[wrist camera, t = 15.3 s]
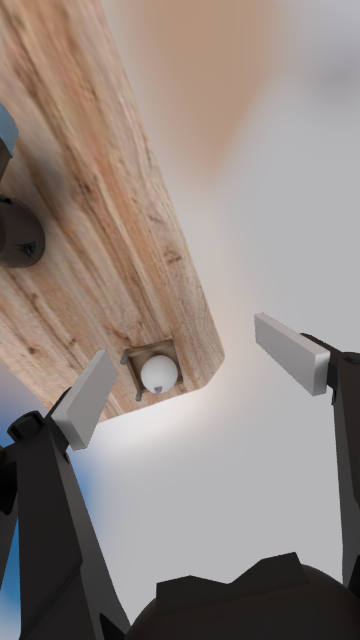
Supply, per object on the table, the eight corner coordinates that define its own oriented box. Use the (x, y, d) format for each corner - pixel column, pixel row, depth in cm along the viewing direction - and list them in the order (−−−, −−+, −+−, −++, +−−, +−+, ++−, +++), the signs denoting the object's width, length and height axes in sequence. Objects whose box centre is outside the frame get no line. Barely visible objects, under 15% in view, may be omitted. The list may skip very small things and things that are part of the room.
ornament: (158, 382, 58) (156, 412, 47) (136, 362, 55) (129, 389, 43) (182, 364, 56) (186, 391, 45) (161, 343, 53) (160, 366, 42)
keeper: (139, 388, 59) (136, 402, 53) (124, 349, 53) (119, 360, 48) (182, 377, 58) (184, 390, 53) (171, 338, 53) (172, 347, 48)
